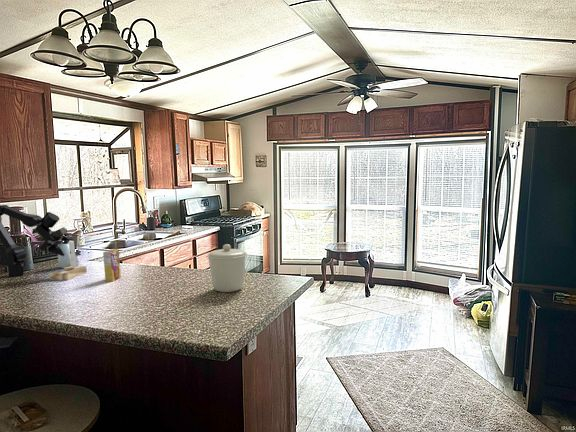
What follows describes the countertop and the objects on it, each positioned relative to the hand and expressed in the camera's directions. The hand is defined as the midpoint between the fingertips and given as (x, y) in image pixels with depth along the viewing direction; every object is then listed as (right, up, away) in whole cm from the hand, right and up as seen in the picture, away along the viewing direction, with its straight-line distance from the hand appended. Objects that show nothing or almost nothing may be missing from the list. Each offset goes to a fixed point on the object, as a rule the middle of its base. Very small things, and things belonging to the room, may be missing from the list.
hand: (67, 254), depth 213 cm
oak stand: (0, -12, +1) cm, 12 cm away
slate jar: (-1, -7, +1) cm, 7 cm away
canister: (+90, -14, -29) cm, 96 cm away
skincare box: (-13, -10, +24) cm, 29 cm away
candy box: (+28, -12, -7) cm, 31 cm away
